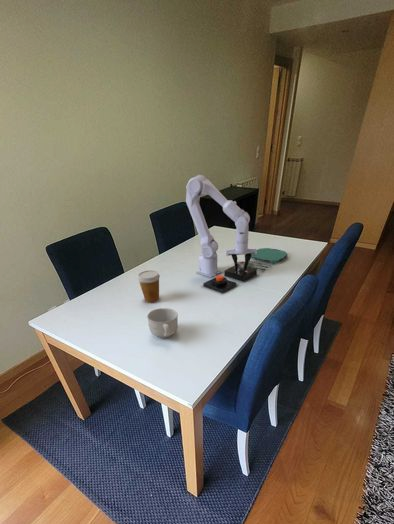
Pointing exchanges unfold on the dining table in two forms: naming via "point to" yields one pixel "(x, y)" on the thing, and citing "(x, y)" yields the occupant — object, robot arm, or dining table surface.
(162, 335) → the teacup
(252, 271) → the dial panel
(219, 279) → the button
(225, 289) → the button housing
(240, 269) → the oven dial
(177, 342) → the dining table surface
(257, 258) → the green plate with cutlery
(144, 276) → the disposable coffee cup
